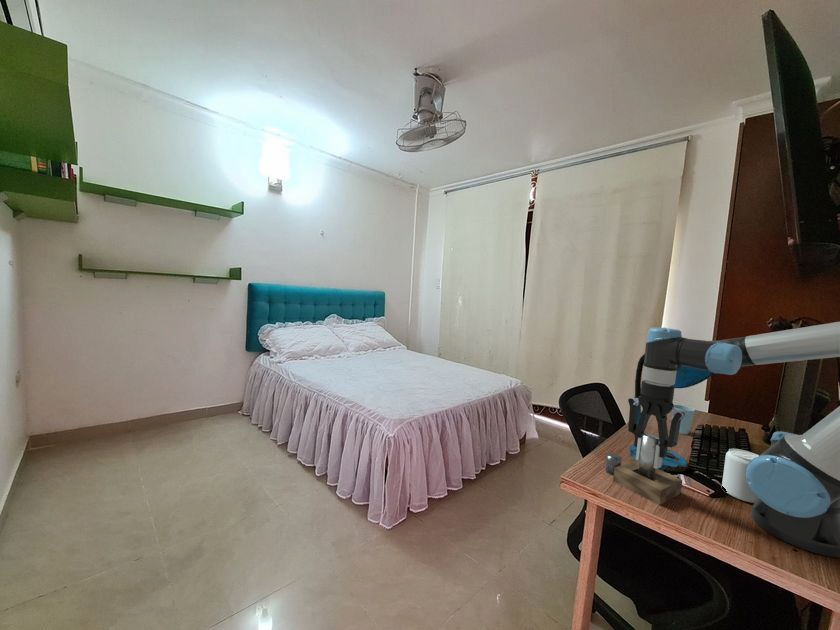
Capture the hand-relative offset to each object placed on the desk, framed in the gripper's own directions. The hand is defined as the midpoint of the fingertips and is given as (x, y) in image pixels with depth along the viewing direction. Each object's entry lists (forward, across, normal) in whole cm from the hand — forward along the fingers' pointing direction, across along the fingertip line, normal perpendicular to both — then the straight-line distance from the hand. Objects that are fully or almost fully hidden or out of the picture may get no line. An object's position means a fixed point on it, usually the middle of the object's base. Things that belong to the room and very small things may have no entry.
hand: (648, 462), depth 93 cm
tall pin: (+4, 0, 0) cm, 4 cm away
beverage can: (+7, -14, -22) cm, 27 cm away
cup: (+7, +16, -61) cm, 63 cm away
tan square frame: (+7, 0, 0) cm, 7 cm away
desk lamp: (+7, +6, -24) cm, 26 cm away
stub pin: (+7, +9, +1) cm, 11 cm away
